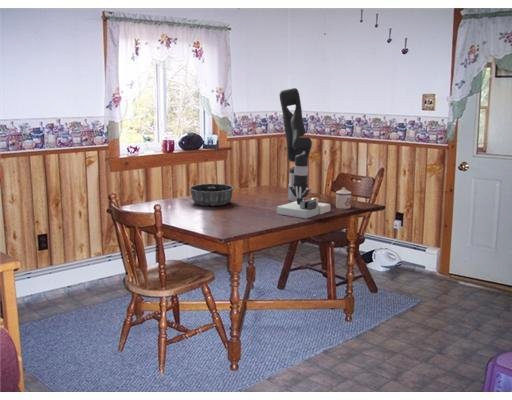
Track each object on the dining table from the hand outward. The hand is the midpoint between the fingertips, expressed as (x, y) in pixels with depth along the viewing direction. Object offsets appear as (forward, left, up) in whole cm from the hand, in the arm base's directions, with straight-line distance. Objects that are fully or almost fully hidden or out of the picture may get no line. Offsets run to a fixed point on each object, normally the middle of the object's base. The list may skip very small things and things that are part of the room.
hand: (299, 204), depth 343 cm
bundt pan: (-58, -6, -6) cm, 59 cm away
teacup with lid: (+10, +34, -6) cm, 36 cm away
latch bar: (+4, +4, -1) cm, 6 cm away
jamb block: (-1, +13, -6) cm, 14 cm away
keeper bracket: (+7, +1, -2) cm, 8 cm away
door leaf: (-1, 0, -6) cm, 6 cm away
